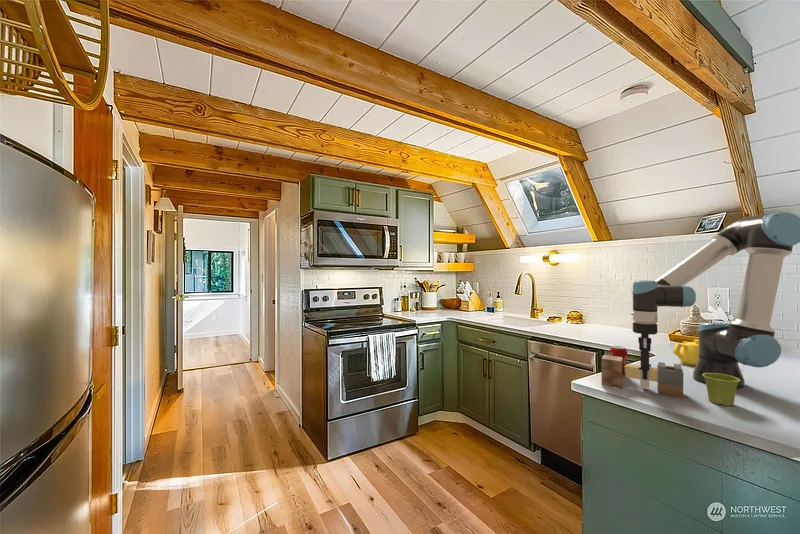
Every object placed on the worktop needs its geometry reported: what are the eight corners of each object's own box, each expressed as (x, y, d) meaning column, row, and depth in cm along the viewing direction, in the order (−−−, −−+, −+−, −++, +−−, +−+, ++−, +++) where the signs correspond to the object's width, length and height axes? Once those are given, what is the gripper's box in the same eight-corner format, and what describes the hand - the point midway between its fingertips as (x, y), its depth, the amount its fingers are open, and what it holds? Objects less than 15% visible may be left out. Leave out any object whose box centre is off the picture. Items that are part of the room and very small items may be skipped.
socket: (622, 383, 139) (622, 357, 139) (621, 388, 133) (621, 361, 133) (603, 380, 142) (603, 354, 142) (601, 385, 136) (601, 358, 136)
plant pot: (694, 398, 123) (694, 372, 123) (720, 397, 124) (720, 372, 124) (721, 408, 114) (721, 381, 114) (748, 407, 115) (748, 380, 115)
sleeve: (681, 392, 129) (681, 364, 128) (683, 398, 123) (683, 369, 123) (657, 388, 132) (657, 361, 132) (658, 394, 127) (658, 366, 127)
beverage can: (630, 378, 144) (630, 349, 144) (612, 377, 146) (612, 348, 146) (623, 374, 151) (623, 345, 151) (607, 373, 152) (607, 344, 152)
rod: (676, 381, 128) (676, 370, 128) (677, 384, 125) (677, 373, 125) (623, 374, 137) (623, 363, 137) (623, 376, 134) (623, 366, 134)
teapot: (706, 358, 176) (706, 336, 176) (733, 369, 158) (733, 344, 158) (660, 356, 179) (660, 334, 179) (682, 366, 161) (683, 342, 161)
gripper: (633, 318, 141) (633, 378, 141) (632, 324, 127) (632, 390, 127) (656, 320, 137) (656, 381, 137) (658, 326, 122) (658, 394, 123)
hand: (644, 385), depth 132 cm, fingers closed on rod, 4 cm apart
